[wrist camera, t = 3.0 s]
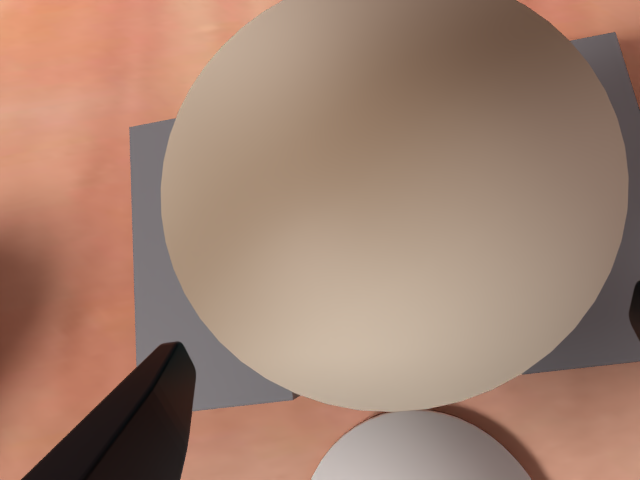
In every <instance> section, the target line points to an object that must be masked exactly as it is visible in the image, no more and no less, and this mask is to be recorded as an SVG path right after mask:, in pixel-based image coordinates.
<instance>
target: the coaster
mask: <svg viewBox="0 0 640 480" xmlns="http://www.w3.org/2000/svg"><path fill="white" fill-rule="evenodd" d="M311 480H532V479H531V478H530V476H529V475H528V474H527V472H526V471H525V470H524V468H523V467H522V466H521V465H520V463H519V462H518V461H517V460H516V459H515V458H514V457H513V456H512V455H511V454H510V453H509V452H508V451H507V450H506V449H505V448H504V447H503V446H502V445H501V444H500V443H499V442H498V441H496V440H495V439H494V438H493V437H491V436H490V435H489V434H487V433H486V432H484V431H483V430H481V429H480V428H478V427H476V426H475V425H473V424H471V423H469V422H467V421H464V420H462V419H460V418H458V417H455V416H452V415H449V414H446V413H442V412H436V411H431V410H411V411H399V412H387V413H383V414H380V415H377V416H375V417H372V418H369V419H367V420H365V421H364V422H362V423H360V424H358V425H356V426H355V427H353V428H352V429H351V430H349V431H348V432H347V433H345V434H344V435H343V436H342V437H341V438H340V439H339V440H338V441H337V442H336V443H335V444H334V445H333V446H332V447H331V448H330V449H329V451H328V452H327V453H326V455H325V456H324V457H323V459H322V460H321V462H320V464H319V466H318V467H317V469H316V471H315V473H314V474H313V476H312V479H311Z"/></svg>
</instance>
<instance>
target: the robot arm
mask: <svg viewBox="0 0 640 480" xmlns="http://www.w3.org/2000/svg"><path fill="white" fill-rule="evenodd" d="M629 320H630V323H631V326H632V328H633V330H634V332H635V334H636V336H637V337H638V339H639V341H640V280H639V281H638V282H637V283H636V284H635V287H634V291H633V295H632V300H631V304H630V308H629ZM195 383H196V370H195V366H194V364H193V362H192V360H191V358H190V356H189V354H188V352H187V350H186V348H185V346H184V345H183V344H182V343H181V342H179V341H175V342H168V343H163V344H160V345H159V346H158V347H157V348H156V349H155V350H154V351H153V352H152V353H151V354H150V355H149V356H148V357H147V358H146V359H145V360H144V361H143V362H142V363H140V364H139V365H138V366H137V367H136V368H135V369H134V370H133V371H132V372H131V373H130V374H129V375H128V376H127V377H126V378H125V379H124V380H123V381H122V382H121V383H120V384H119V385H118V386H117V387H116V388H115V389H114V390H113V391H112V392H111V393H110V394H109V395H108V396H107V397H106V398H105V399H104V400H102V401H101V402H100V403H99V404H98V405H97V406H96V407H95V408H94V409H93V410H92V411H91V412H90V413H89V414H88V415H87V416H86V417H85V418H84V419H83V420H82V421H81V422H80V423H79V424H78V425H77V426H76V427H75V428H74V429H73V430H72V431H71V432H70V433H69V434H68V435H67V436H66V437H64V438H63V439H62V440H61V441H60V442H59V443H58V444H57V445H56V446H55V447H54V448H53V449H52V450H51V451H50V452H49V453H48V454H47V455H46V456H45V457H44V458H43V459H42V460H41V461H40V462H39V463H38V464H37V465H36V466H35V467H34V468H33V469H32V470H31V471H30V472H28V473H27V474H26V475H25V476H24V477H23V478H22V479H21V480H180V478H181V474H182V470H183V465H184V461H185V457H186V452H187V447H188V440H189V433H190V425H191V417H192V408H193V400H194V392H195Z"/></svg>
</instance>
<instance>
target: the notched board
mask: <svg viewBox="0 0 640 480" xmlns="http://www.w3.org/2000/svg"><path fill="white" fill-rule="evenodd" d="M570 42H571V43H572V44H573V45H574V46H575V48H576V49H577V50H578V51H579V52H580V54H581V55H582V56H583V57H584V59H585V60H586V61H587V62H588V63H589V65H590V66H591V68H592V69H593V71H594V73H595V74H596V76H597V77H598V79H599V81H600V82H601V84H602V86H603V87H604V89H605V91H606V93H607V95H608V98H609V100H610V102H611V104H612V107H613V109H614V111H615V114H616V116H617V119H618V122H619V126H620V130H621V134H622V137H623V141H624V145H625V150H626V159H627V167H628V176H629V183H628V210H627V215H626V220H625V225H624V231H623V236H622V241H621V244H620V247H619V250H618V252H617V255H616V258H615V261H614V264H613V267H612V269H611V272H610V274H609V276H608V278H607V280H606V281H605V283H604V285H603V287H602V289H601V291H600V293H599V295H598V296H597V298H596V300H595V302H594V303H593V304H592V306H591V307H590V309H589V310H588V311H587V313H586V314H585V315H584V317H583V318H582V319H581V321H580V322H579V323H578V325H577V326H576V327H575V329H574V330H573V331H572V332H571V333H570V334H569V335H568V336H567V337H566V338H565V339H564V340H563V341H562V342H561V343H560V344H559V345H558V346H557V347H556V348H555V349H554V350H553V351H552V352H550V353H549V354H548V355H546V356H545V357H544V358H542V359H541V360H540V361H538V362H537V363H536V364H534V365H533V366H532V367H530V368H529V369H528V370H526V371H525V372H524V373H522V374H531V373H540V372H549V371H558V370H567V369H576V368H585V367H594V366H603V365H612V364H621V363H630V362H639V361H640V341H639V339H638V337H637V336H636V334H635V332H634V330H633V328H632V326H631V323H630V320H629V308H630V304H631V300H632V295H633V291H634V287H635V284H636V283H637V282H638V281H639V280H640V110H639V107H638V104H637V100H636V97H635V94H634V91H633V88H632V84H631V81H630V78H629V75H628V71H627V68H626V65H625V62H624V59H623V55H622V52H621V49H620V46H619V42H618V39H617V36H616V33H615V32H613V33H608V34H603V35H598V36H593V37H587V38H582V39H577V40H572V41H570ZM175 120H176V118H175V119H170V120H165V121H160V122H155V123H149V124H144V125H139V126H134V127H129V129H130V162H131V195H132V229H133V262H134V295H135V329H136V362H137V366H138V365H139V364H140V363H142V362H143V361H144V360H145V359H146V358H147V357H148V356H149V355H150V354H151V353H152V352H153V351H154V350H155V349H156V348H157V347H158V346H159V345H160V344H163V343H168V342H175V341H179V342H181V343H182V344H183V345H184V346H185V348H186V350H187V352H188V354H189V356H190V358H191V360H192V362H193V364H194V366H195V370H196V383H195V392H194V400H193V408H192V411H199V410H208V409H217V408H226V407H235V406H244V405H253V404H262V403H271V402H280V401H289V400H294V399H295V398H297V397H298V396H300V395H299V394H296V393H294V392H292V391H290V390H288V389H286V388H284V387H282V386H280V385H278V384H276V383H274V382H272V381H270V380H268V379H266V378H264V377H263V376H262V375H260V374H259V373H257V372H256V371H254V370H253V369H251V368H250V367H249V366H247V365H246V364H244V363H243V362H241V361H240V360H239V359H238V358H237V357H236V356H235V355H234V354H232V353H231V352H230V351H229V350H228V349H227V348H226V347H225V346H224V345H223V344H222V343H220V342H219V341H218V339H217V338H216V337H215V336H214V335H213V333H212V332H211V331H210V330H209V329H208V327H207V326H206V325H205V324H204V323H203V321H202V320H201V319H200V318H199V316H198V314H197V313H196V311H195V310H194V308H193V306H192V305H191V303H190V302H189V300H188V298H187V297H186V295H185V293H184V291H183V289H182V287H181V284H180V282H179V280H178V278H177V275H176V273H175V271H174V269H173V265H172V262H171V259H170V255H169V252H168V249H167V245H166V242H165V235H164V229H163V222H162V216H161V181H162V171H163V162H164V157H165V153H166V149H167V145H168V140H169V136H170V133H171V131H172V128H173V125H174V122H175Z"/></svg>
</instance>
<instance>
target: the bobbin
mask: <svg viewBox="0 0 640 480" xmlns="http://www.w3.org/2000/svg"><path fill="white" fill-rule="evenodd" d="M628 183H629V176H628V167H627V159H626V150H625V145H624V141H623V137H622V134H621V130H620V126H619V122H618V119H617V116H616V114H615V111H614V109H613V107H612V104H611V102H610V100H609V98H608V95H607V93H606V91H605V89H604V87H603V86H602V84H601V82H600V81H599V79H598V77H597V76H596V74H595V73H594V71H593V69H592V68H591V66H590V65H589V63H588V62H587V61H586V60H585V59H584V57H583V56H582V55H581V54H580V52H579V51H578V50H577V49H576V48H575V46H574V45H573V44H572V43H571V42H570V41H569V40H568V39H567V38H566V37H565V36H564V35H563V34H562V33H561V32H559V31H558V30H557V29H556V28H555V27H554V26H553V25H552V24H551V23H550V22H548V21H547V20H545V19H544V18H543V17H541V16H540V15H538V14H537V13H536V12H534V11H533V10H531V9H530V8H528V7H527V6H526V5H524V4H522V3H520V2H518V1H516V0H283V1H281V2H279V3H277V4H276V5H274V6H272V7H271V8H269V9H267V10H266V11H264V12H262V13H261V14H260V15H258V16H257V17H256V18H254V19H253V20H252V21H250V22H249V23H248V24H246V25H245V26H244V27H242V28H241V29H240V30H239V31H238V32H237V33H236V34H235V35H234V36H232V37H231V38H230V39H229V40H228V41H227V42H226V43H225V44H224V45H223V46H222V47H221V48H220V49H219V50H218V52H217V53H216V54H215V55H214V56H213V58H212V59H211V60H210V61H209V62H208V63H207V65H206V66H205V67H204V69H203V70H202V72H201V73H200V75H199V76H198V78H197V79H196V81H195V82H194V84H193V85H192V87H191V88H190V90H189V92H188V94H187V96H186V98H185V100H184V102H183V104H182V106H181V108H180V110H179V112H178V114H177V117H176V120H175V122H174V125H173V128H172V131H171V133H170V136H169V140H168V145H167V149H166V153H165V157H164V162H163V171H162V181H161V216H162V222H163V229H164V235H165V242H166V245H167V249H168V252H169V255H170V259H171V262H172V265H173V269H174V271H175V273H176V275H177V278H178V280H179V282H180V284H181V287H182V289H183V291H184V293H185V295H186V297H187V298H188V300H189V302H190V303H191V305H192V306H193V308H194V310H195V311H196V313H197V314H198V316H199V318H200V319H201V320H202V321H203V323H204V324H205V325H206V326H207V327H208V329H209V330H210V331H211V332H212V333H213V335H214V336H215V337H216V338H217V339H218V341H219V342H220V343H222V344H223V345H224V346H225V347H226V348H227V349H228V350H229V351H230V352H231V353H232V354H234V355H235V356H236V357H237V358H238V359H239V360H240V361H241V362H243V363H244V364H246V365H247V366H249V367H250V368H251V369H253V370H254V371H256V372H257V373H259V374H260V375H262V376H263V377H264V378H266V379H268V380H270V381H272V382H274V383H276V384H278V385H280V386H282V387H284V388H286V389H288V390H290V391H292V392H294V393H296V394H299V395H302V396H304V397H307V398H310V399H313V400H316V401H319V402H322V403H325V404H329V405H335V406H340V407H345V408H350V409H355V410H364V411H383V412H399V411H411V410H423V409H430V408H434V407H439V406H443V405H448V404H452V403H457V402H461V401H463V400H466V399H469V398H471V397H474V396H477V395H479V394H482V393H485V392H487V391H490V390H493V389H495V388H496V387H498V386H500V385H502V384H504V383H506V382H507V381H509V380H511V379H513V378H515V377H517V376H518V375H520V374H522V373H524V372H525V371H526V370H528V369H529V368H530V367H532V366H533V365H534V364H536V363H537V362H538V361H540V360H541V359H542V358H544V357H545V356H546V355H548V354H549V353H550V352H552V351H553V350H554V349H555V348H556V347H557V346H558V345H559V344H560V343H561V342H562V341H563V340H564V339H565V338H566V337H567V336H568V335H569V334H570V333H571V332H572V331H573V330H574V329H575V327H576V326H577V325H578V323H579V322H580V321H581V319H582V318H583V317H584V315H585V314H586V313H587V311H588V310H589V309H590V307H591V306H592V304H593V303H594V302H595V300H596V298H597V296H598V295H599V293H600V291H601V289H602V287H603V285H604V283H605V281H606V280H607V278H608V276H609V274H610V272H611V269H612V267H613V264H614V261H615V258H616V255H617V252H618V250H619V247H620V244H621V241H622V236H623V231H624V225H625V220H626V215H627V210H628Z"/></svg>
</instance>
